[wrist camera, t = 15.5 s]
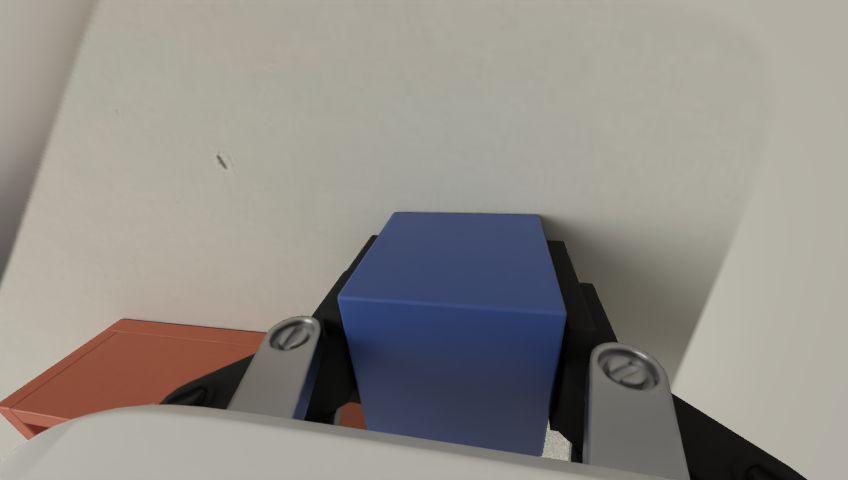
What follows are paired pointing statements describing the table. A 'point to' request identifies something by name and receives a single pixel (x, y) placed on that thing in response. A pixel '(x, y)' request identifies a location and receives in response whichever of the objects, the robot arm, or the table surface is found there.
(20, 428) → the terracotta bin
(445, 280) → the blue block
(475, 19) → the table surface
